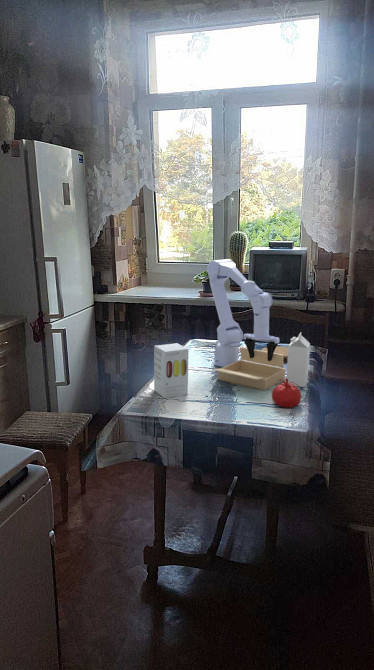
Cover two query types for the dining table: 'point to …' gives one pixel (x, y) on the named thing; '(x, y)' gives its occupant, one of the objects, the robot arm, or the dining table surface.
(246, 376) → the front flap
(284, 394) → the pomegranate
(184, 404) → the dining table surface
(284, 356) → the wood log slice
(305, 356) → the milk carton
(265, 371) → the carton
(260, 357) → the back flap
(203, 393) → the dining table surface
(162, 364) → the supplement box
